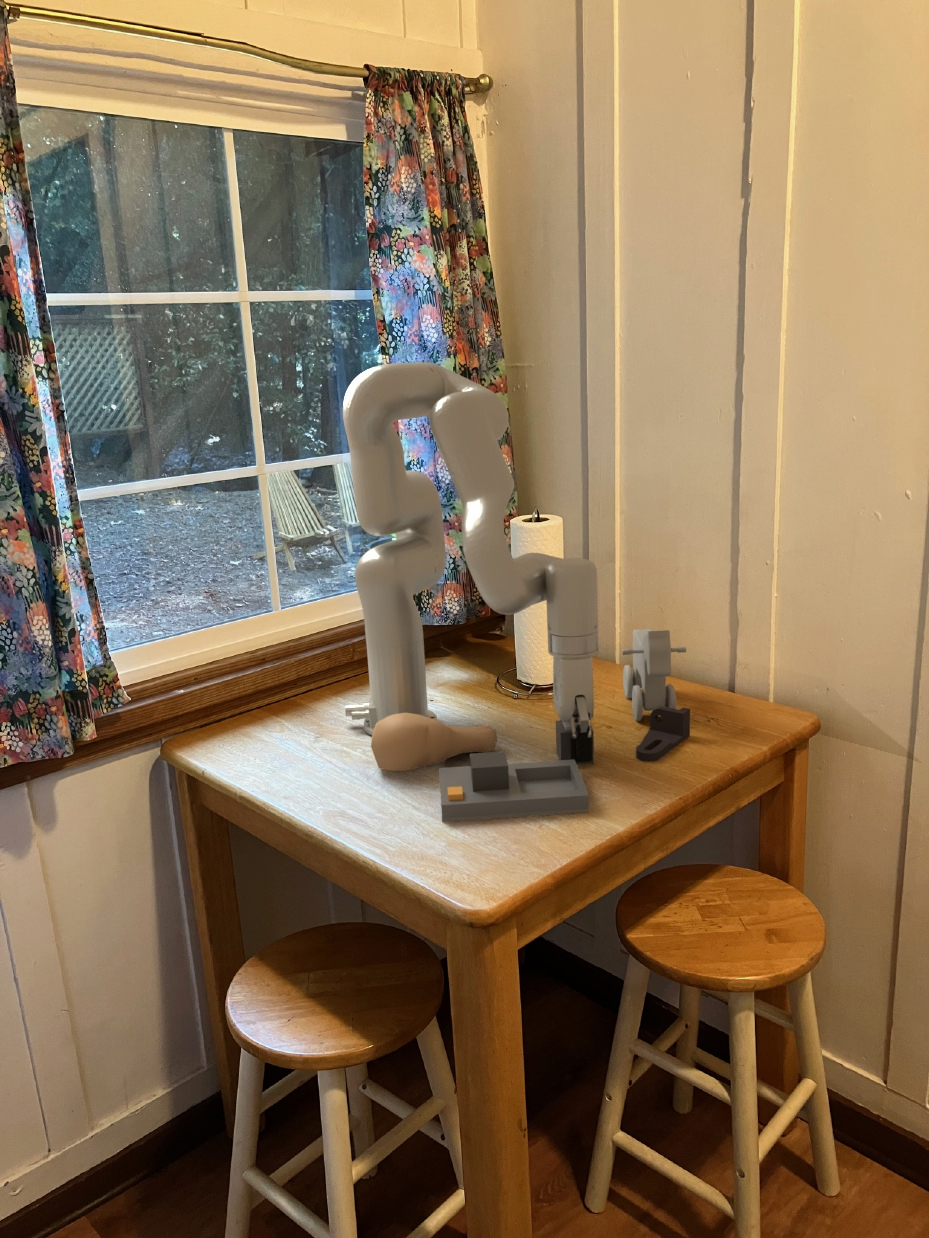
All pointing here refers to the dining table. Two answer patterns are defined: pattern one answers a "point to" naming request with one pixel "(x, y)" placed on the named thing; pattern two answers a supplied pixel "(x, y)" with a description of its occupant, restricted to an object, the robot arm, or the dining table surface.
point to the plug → (568, 741)
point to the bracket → (664, 733)
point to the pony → (650, 671)
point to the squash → (424, 741)
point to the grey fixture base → (510, 789)
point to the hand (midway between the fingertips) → (576, 748)
